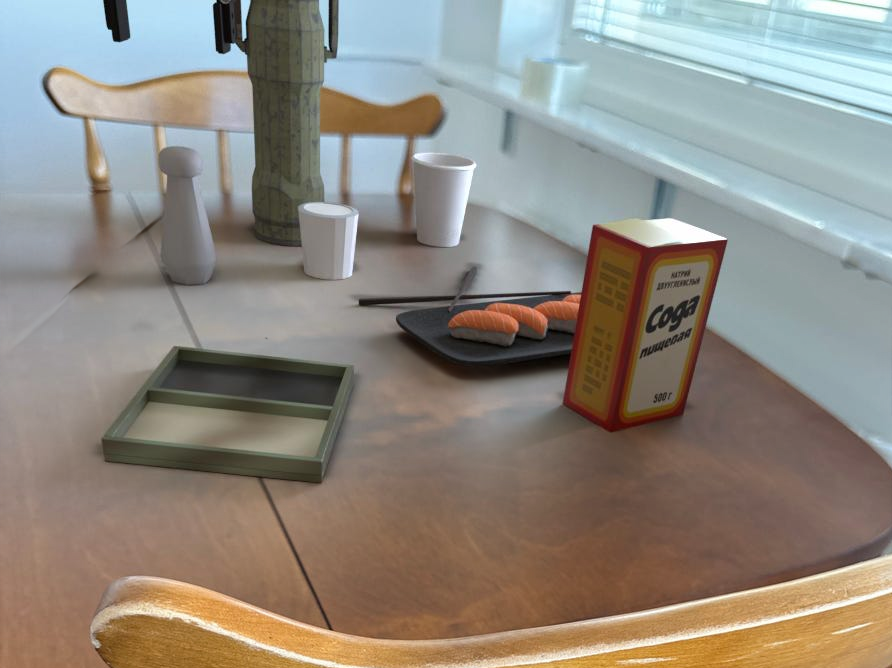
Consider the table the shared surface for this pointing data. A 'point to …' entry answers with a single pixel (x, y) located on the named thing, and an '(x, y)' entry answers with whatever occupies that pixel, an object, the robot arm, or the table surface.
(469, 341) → the sushi plate
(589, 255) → the baking soda box
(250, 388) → the sorting tray
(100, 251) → the table surface
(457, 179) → the dixie cup
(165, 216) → the salt shaker
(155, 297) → the table surface
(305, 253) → the white faceted cup
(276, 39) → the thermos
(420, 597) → the table surface
